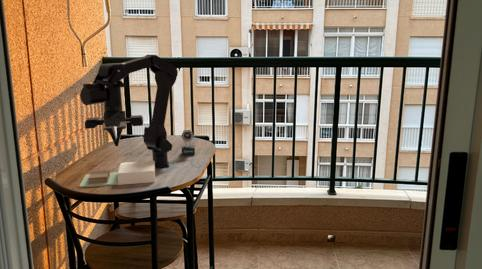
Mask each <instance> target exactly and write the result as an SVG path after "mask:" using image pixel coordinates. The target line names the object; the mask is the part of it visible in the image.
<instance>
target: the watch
mask: <svg viewBox="0 0 482 269" xmlns="http://www.w3.org/2000/svg"><path fill="white" fill-rule="evenodd" d="M194 137H195V134H194V133H193V131H192V129H191V128H184V130H183V131H182V133H181V138H182V141H183V143H184V145H181V156H195V155H196V147H195V145H192V142H193V140H194Z"/></svg>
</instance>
